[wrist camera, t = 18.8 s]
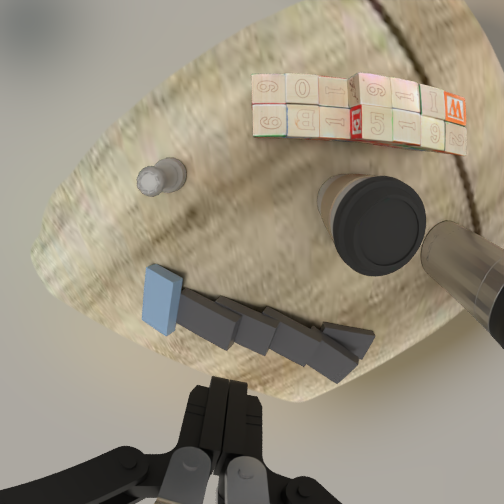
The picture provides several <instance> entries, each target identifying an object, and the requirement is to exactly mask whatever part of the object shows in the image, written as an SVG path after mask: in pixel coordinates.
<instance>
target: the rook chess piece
mask: <svg viewBox="0 0 504 504" xmlns="http://www.w3.org/2000/svg"><path fill="white" fill-rule="evenodd" d="M185 180H186V170H185V167H184V165H183V164H182V163H181V162H180V161H179V160H177V159H175V158H165V159H162V160H160V161H158V162H157V163H156V164H155V165H154V166H147V167H145V168H143V169H142V170H141V171H140V172H139V175H138V177H137V187H138V189H139V190H140V191H141V193H142V194H144V195H146V196H150V197H154V196H156V195H159V194H160V193H161V192H165V193H171V192H174V191H177V190H179V189H180V188H181V187H182V186H183V184H184V182H185Z"/></svg>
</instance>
